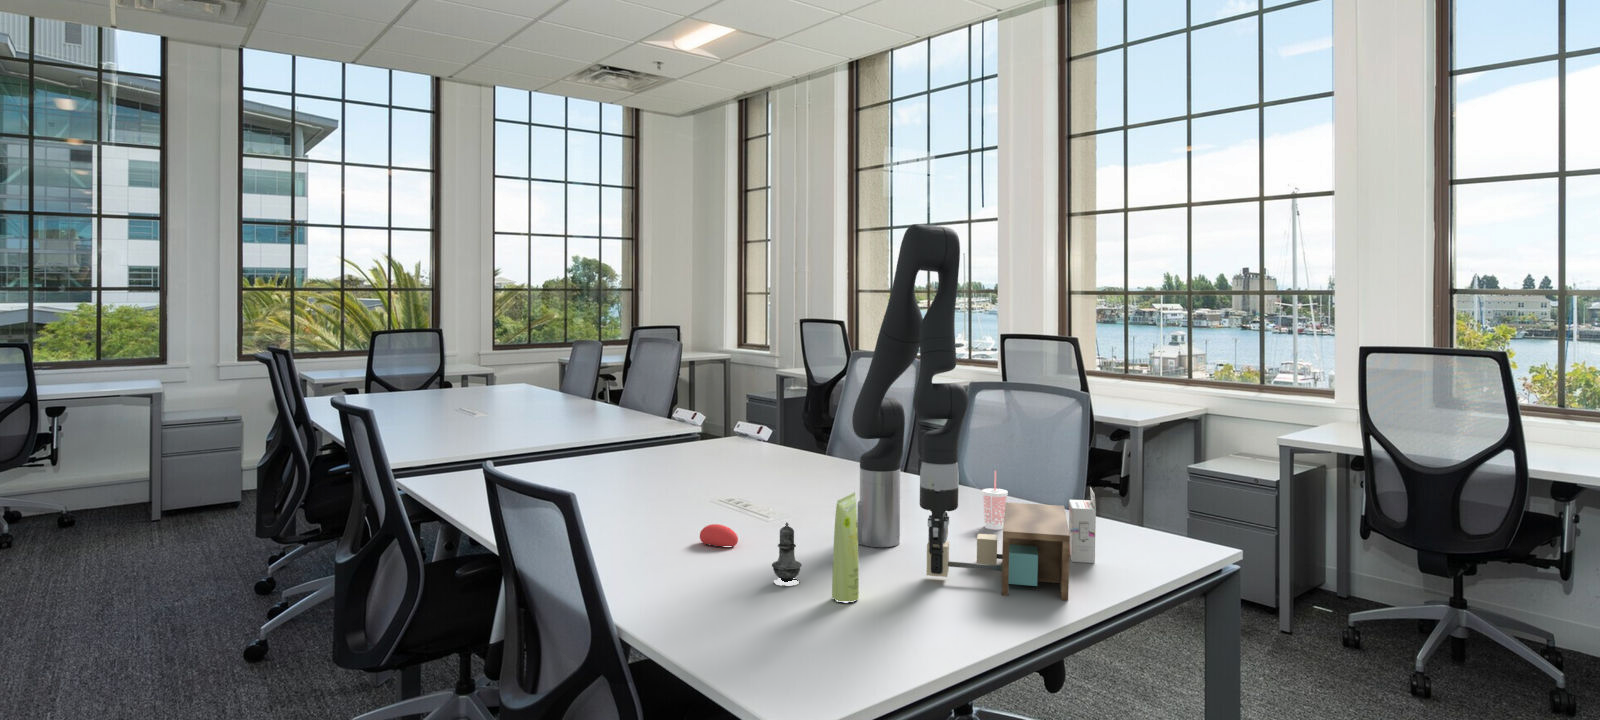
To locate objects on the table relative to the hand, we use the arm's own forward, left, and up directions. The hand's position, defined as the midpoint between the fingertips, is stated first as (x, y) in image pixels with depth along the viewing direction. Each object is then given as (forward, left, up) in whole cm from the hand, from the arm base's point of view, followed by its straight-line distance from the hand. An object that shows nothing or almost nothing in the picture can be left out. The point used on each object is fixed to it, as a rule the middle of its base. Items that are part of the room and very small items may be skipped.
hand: (937, 569), depth 174 cm
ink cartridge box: (+29, +24, -2) cm, 37 cm away
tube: (-15, -16, -2) cm, 23 cm away
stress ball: (-50, +12, -3) cm, 52 cm away
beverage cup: (+10, +45, -2) cm, 46 cm away
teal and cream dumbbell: (+9, 0, -1) cm, 9 cm away
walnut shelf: (+19, +6, -2) cm, 20 cm away
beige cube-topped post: (+15, +13, -2) cm, 19 cm away
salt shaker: (-28, -9, -2) cm, 30 cm away
